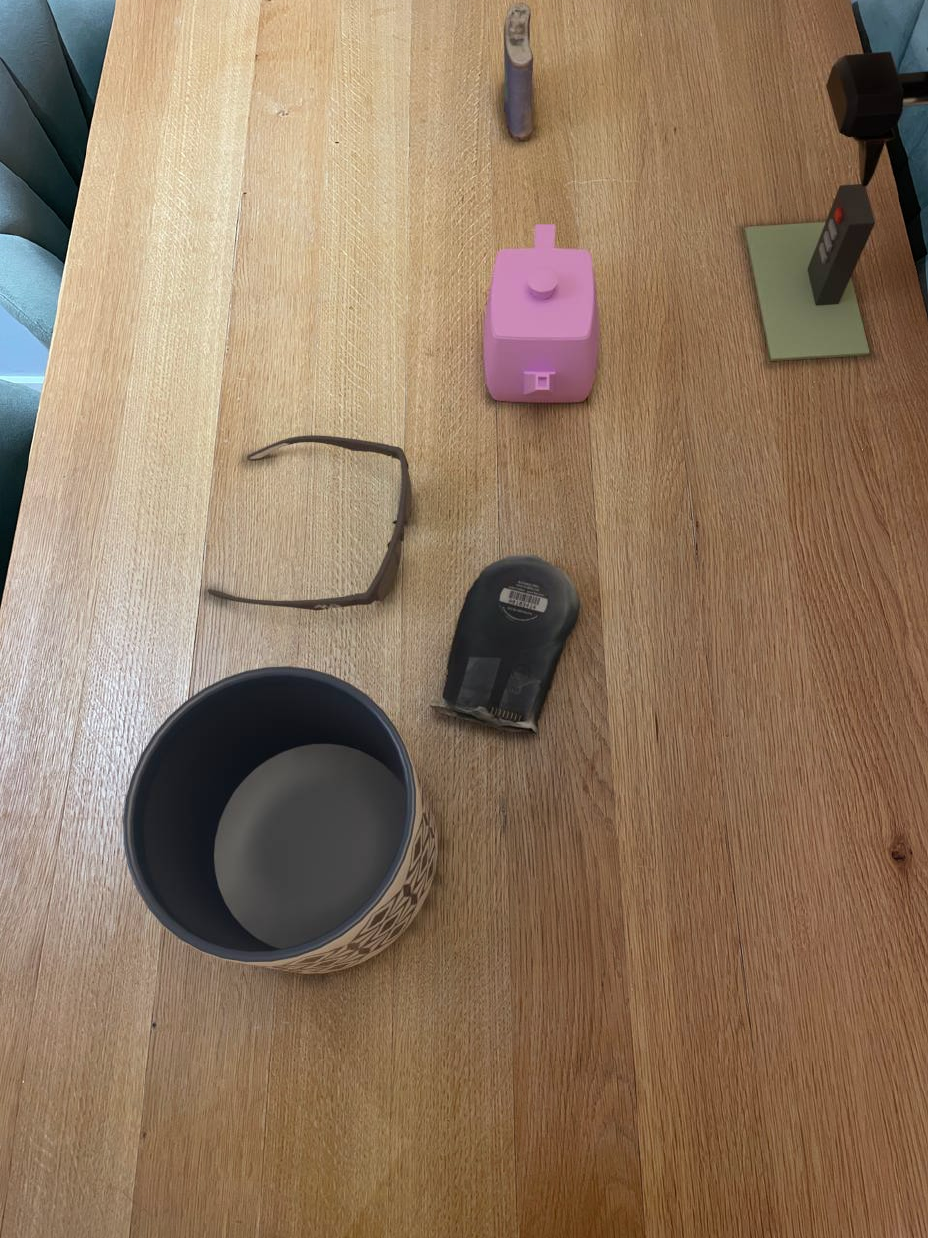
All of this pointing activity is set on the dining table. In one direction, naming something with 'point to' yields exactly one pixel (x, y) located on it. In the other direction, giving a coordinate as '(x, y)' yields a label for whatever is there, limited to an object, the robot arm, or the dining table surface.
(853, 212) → the dark grey rectangular prism
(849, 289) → the mat
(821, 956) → the dining table surface
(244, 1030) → the dining table surface
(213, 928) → the planter
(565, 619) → the electronic device
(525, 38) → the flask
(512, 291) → the teapot
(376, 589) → the sunglasses
